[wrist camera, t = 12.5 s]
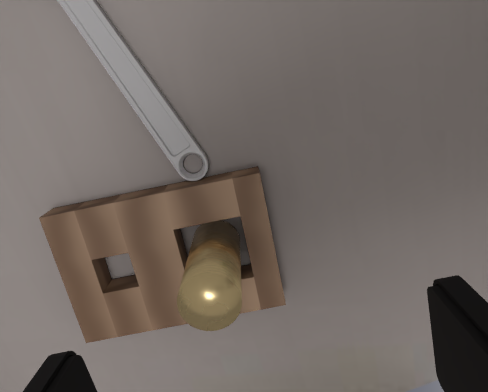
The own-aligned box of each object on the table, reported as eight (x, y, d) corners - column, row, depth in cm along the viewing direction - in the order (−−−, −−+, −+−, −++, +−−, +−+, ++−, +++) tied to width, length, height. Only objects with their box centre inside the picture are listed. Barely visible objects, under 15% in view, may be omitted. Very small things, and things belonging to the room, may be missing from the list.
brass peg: (234, 215, 34) (234, 267, 24) (244, 258, 35) (247, 324, 26) (188, 225, 34) (169, 280, 25) (198, 267, 35) (185, 336, 26)
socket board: (257, 166, 33) (259, 172, 30) (282, 290, 36) (285, 304, 34) (53, 208, 33) (39, 218, 31) (95, 325, 37) (86, 342, 34)
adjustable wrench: (216, 166, 33) (215, 171, 32) (153, 201, 34) (148, 207, 32) (36, -146, 27) (23, -161, 25) (-38, -94, 28) (-56, -105, 26)
